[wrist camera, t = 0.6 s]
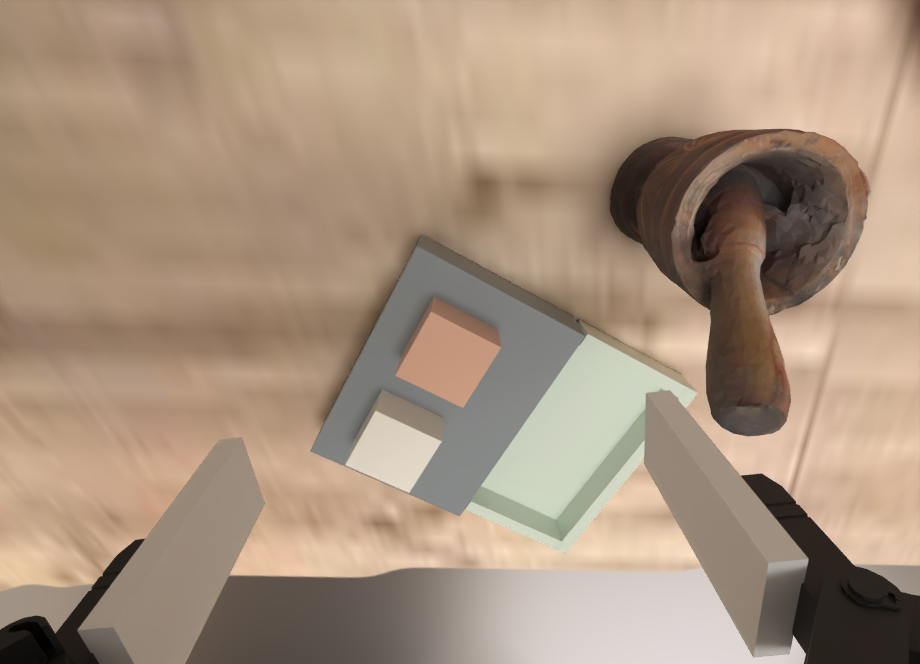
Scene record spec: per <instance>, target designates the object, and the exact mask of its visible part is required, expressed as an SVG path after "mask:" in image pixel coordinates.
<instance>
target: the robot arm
mask: <svg viewBox="0 0 920 664" xmlns="http://www.w3.org/2000/svg"><path fill="white" fill-rule="evenodd" d="M644 464H645V466H646V468H647V470H648V471H649V473H650V475H651V477H652V479H653V480H654V482H655V484H656V486H657V487H658V489H659V491H660V493H661V495H662V496H663V498H664V500H665V502H666V503H667V505H668V507H669V509H670V510H671V512H672V514H673V516H674V518H675V519H676V521H677V523H678V525H679V526H680V528H681V530H682V532H683V534H684V535H685V537H686V539H687V541H688V542H689V544H690V546H691V548H692V549H693V551H694V553H695V555H696V557H697V558H698V560H699V562H700V564H701V565H702V567H703V569H704V571H705V573H706V574H707V576H708V577H709V579H710V581H711V583H712V585H713V587H714V588H715V590H716V592H717V594H718V596H719V597H720V599H721V601H722V603H723V604H724V606H725V608H726V610H727V612H728V613H729V615H730V617H731V619H732V620H733V622H734V624H735V626H736V627H737V629H738V631H739V633H740V634H741V636H742V638H743V640H744V642H745V643H746V645H747V647H748V649H749V650H750V652H751V654H752V656H753V657H763V656H774V655H785V654H789V653H790V649H791V644H792V639H793V635H794V637H795V638H796V640H797V641H798V643H799V644H800V646H801V647H802V649H803V650H804V652H805V653H806V657H805V662H804V664H920V596H916V595H911V594H907V593H903V592H900V590H899V589H898V588H897V587H896V586H895V585H893V584H892V583H891V582H889V581H888V580H886V579H885V578H884V577H882V576H880V575H878V574H876V573H874V572H871V571H870V570H867V569H864V568H860V567H856V566H854V565H853V564H852V563H851V562H850V561H849V559H848V558H847V557H846V556H845V555H844V554H843V553H842V552H841V551H840V550H839V549H838V547H837V546H836V545H835V544H834V543H833V542H832V541H831V540H830V539H829V538H828V536H827V535H826V534H825V533H824V532H823V531H822V530H821V529H820V528H819V527H818V525H817V524H816V523H815V522H814V521H813V520H812V519H811V518H810V517H809V518H808V516H807V513H806V512H805V511H804V510H803V509H802V508H801V507H800V506H799V505H797V504H796V501H795V500H794V499H793V498H792V497H791V496H790V495H789V494H788V492H787V491H786V490H785V489H784V488H783V487H782V486H781V485H779V484H777V483H776V482H774V481H773V480H771V479H769V478H768V477H766V476H765V475H763V474H753V475H743V476H740V475H739V473H738V472H737V471H736V470H735V469H734V467H733V466H732V465H731V464H730V462H729V461H728V460H727V459H726V458H725V456H724V455H723V454H722V453H721V451H720V450H719V449H718V448H717V447H716V445H715V444H714V443H713V442H712V440H711V439H710V438H709V437H708V436H707V434H706V433H705V432H704V431H703V429H702V428H701V427H700V426H699V425H698V423H697V422H696V421H695V420H694V418H693V417H692V416H691V415H690V414H689V412H688V411H687V410H686V409H685V408H684V406H683V405H682V404H681V403H680V401H679V400H678V399H677V398H676V397H675V395H674V394H673V393H672V392H671V390H667V391H657V392H648V393H646V409H645V445H644ZM264 504H265V502H264V499H263V497H262V494H261V491H260V488H259V485H258V482H257V479H256V476H255V473H254V471H253V468H252V465H251V462H250V459H249V456H248V453H247V450H246V447H245V444H244V442H243V439H242V437H241V438H232V439H222V440H219V441H218V442H217V443H216V445H215V446H214V447H213V449H212V450H211V452H210V453H209V454H208V456H207V457H206V458H205V460H204V461H203V462H202V464H201V465H200V466H199V468H198V469H197V470H196V472H195V473H194V474H193V476H192V477H191V478H190V480H189V481H188V482H187V484H186V485H185V486H184V488H183V489H182V490H181V492H180V493H179V494H178V496H177V497H176V498H175V500H174V501H173V502H172V504H171V505H170V507H169V508H168V509H167V511H166V512H165V513H164V515H163V516H162V517H161V519H160V520H159V521H158V523H157V524H156V525H155V527H154V528H153V529H152V531H151V532H150V533H149V535H148V536H147V537H146V539H139V540H135V541H134V542H132V543H131V544H130V545H129V546H128V547H126V548H125V549H124V550H123V551H122V552H120V553H119V554H118V555H117V556H116V557H115V558H114V560H113V561H112V562H111V563H110V565H109V566H108V567H107V568H106V570H105V571H104V572H103V576H102V577H99V579H98V580H97V581H96V583H95V584H94V585H93V586H92V590H91V591H88V593H87V594H86V595H85V597H84V598H83V599H82V601H81V602H80V603H79V604H78V606H77V607H76V608H75V609H74V611H73V612H72V613H71V615H70V616H69V617H68V618H67V620H66V621H65V622H64V623H63V625H62V626H61V627H60V629H59V630H58V631H57V632H56V634H55V633H54V631H53V629H52V628H51V626H50V625H49V623H48V621H47V620H46V618H45V617H40V616H32V617H27V618H23V619H20V620H18V621H16V622H13V623H11V624H9V625H7V626H5V627H4V628H2V629H1V630H0V664H185V662H186V660H187V658H188V656H189V654H190V652H191V650H192V648H193V646H194V644H195V642H196V640H197V638H198V636H199V634H200V632H201V630H202V628H203V626H204V624H205V622H206V620H207V618H208V616H209V614H210V612H211V610H212V608H213V606H214V604H215V602H216V600H217V598H218V596H219V594H220V592H221V590H222V588H223V586H224V584H225V582H226V580H227V578H228V576H229V574H230V572H231V570H232V568H233V566H234V564H235V562H236V560H237V558H238V556H239V554H240V552H241V550H242V548H243V546H244V544H245V542H246V540H247V538H248V536H249V534H250V532H251V530H252V528H253V526H254V524H255V522H256V520H257V518H258V516H259V514H260V512H261V510H262V508H263V506H264Z"/></svg>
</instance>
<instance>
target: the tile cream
mask: <svg viewBox="0 0 920 664" xmlns="http://www.w3.org/2000/svg"><path fill="white" fill-rule="evenodd" d="M442 431H443V418H442V417H440V416H438V415H436V414H434V413H432V412H430V411H428V410H425V409H423V408H421V407H419V406H417V405H415V404H413V403H411V402H408V401H406V400H404V399H402V398H400V397H398V396H396V395H394V394H391V393H389V392H387V391H385V390H383V389H382V390H381V392H380V394H379V396H378V398H377V399H376V401H375V403H374V405H373V407H372V408H371V410H370V412H369V414H368V416H367V417H366V419H365V421H364V423H363V425H362V426H361V428H360V430H359V432H358V434H357V436H356V437H355V439H354V441H353V444H352V447H351V450H350V453H349V456H348V458H347V461H346V464H345V465H346V466H348V467H350V468H353V469H355V470H357V471H360V472H362V473H364V474H367V475H369V476H371V477H373V478H376V479H378V480H380V481H383V482H385V483H387V484H390V485H392V486H394V487H396V488H399V489H401V490H403V491H406V492H408V493H409V492H410V491H411V489H412V488H413V486H414V485H415V483H416V481H417V480H418V478H419V477H420V475H421V474H422V472H423V470H424V469H425V467H426V466H427V464H428V462H429V461H430V459H431V458H432V456H433V455H434V453H435V451H436V450H437V448H438V447H439V445H440V444H441V442H442Z"/></svg>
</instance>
